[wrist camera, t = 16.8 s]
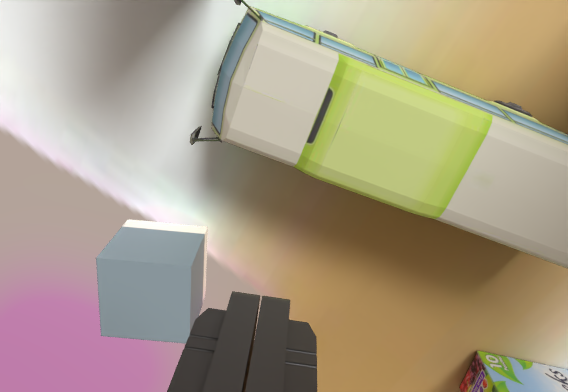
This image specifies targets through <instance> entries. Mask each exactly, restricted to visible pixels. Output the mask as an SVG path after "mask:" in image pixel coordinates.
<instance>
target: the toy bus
mask: <svg viewBox="0 0 568 392" xmlns="http://www.w3.org/2000/svg"><path fill="white" fill-rule="evenodd" d="M234 1H235V3H236V4H237V5H240V4H241V2H242V3H244V4H245V5H246V6H247V7H248V10H247V12H246V14H245V16H244V18H243V20H242V22H241V23H238V25H237V27H236V29H235V32H234V34H233V36H232V38H231V40H230V42H229V45H228V48H227V50H226V53H225V56H224V58H223V61H222V64H221V66H220V69H219V71H220V72H218V74H219V76H218V79H217V83H216V87H215V90H214V94H213V101H212V108H214V109H213V117H212V125H211V129H212V130H213V131H214V132H215V134H216V135H217V136H218V137H216V138H198V136H199V133H200V130H201V127H202V126H200V127H198V128H197V129H196V130H195V131H194V132H193V133H192V134H191V138H190V143H191V145H193V144H194V143H195V142H196V141H220V142H222V141H225V142H227V143H230V144H233V145H235V146H238V147H241V148H243V149H246V150H249V151H252V152H254V153H257V154H260V155H262V156H265V157H268V158H270V159H273V160H276V161H279V162H281V163H284V164H287V165H289V166H292V167H295V168H296V169H298V170H300V171H301V172H303V173H305V174H307V175H309V176H311V177H313V178H316V179H319V180H321V181H324V182H327V183H330V184H333V185H335V186H338V187H341V188H344V189H346V190H349V191H352V192H355V193H357V194H360V195H363V196H366V197H369V198H371V199H374V200H377V201H380V202H382V203H385V204H388V205H391V206H394V207H396V208H399V209H402V210H405V211H407V212H410V213H413V214H417V215H420V216H424V217H427V218H432V219H435V220H438V221H441V222H443V223H446V224H449V225H452V226H454V227H457V228H460V229H462V230H465V231H468V232H470V233H473V234H476V235H479V236H481V237H484V238H487V239H489V240H492V241H495V242H497V243H500V244H503V245H506V246H508V247H511V248H514V249H516V250H519V251H522V252H525V253H527V254H530V255H533V256H535V257H538V258H541V259H543V260H546V261H549V262H552V263H554V264H557V265H560V266H562V267H565V268H568V135H567V134H565V133H563V132H561V131H558V130H556V129H554V128H552V127H549V126H547V125H545V124H543V123H540V122H539V121H538V120H537V119H535V118H533V117H532V115H531V114H530V113H529V112H526V111H524V110H522V108H521V106H519V105H516V104H514V103H511V102H509V103H504V102H502V101H494V102H493V101H487V100H484V99H482V98H479V97H477V96H474V95H472V94H469V93H467V92H464V91H462V90H459V89H457V88H455V87H452V86H450V85H447V84H445V83H442V82H440V81H437V80H435V79H432V78H430V77H427V76H425V75H423V74H420V73H418V72H415V71H413V70H410V69H408V68H405V67H403V66H400V65H398V64H395V63H393V62H390V61H388V60H386V59H383V58H381V57H378V56H376V55H373V54H371V53H368V52H366V51H363V50H361V49H358V48H356V47H355V46H354V45H353V44H351V43H348V42H346V41H343V40H341V39H339V38H338V37H337V35H336V34H334V33H331V32H329V31H324V32H321V31H319V30H316V29H314V28H311V27H309V26H302V25H299V24H296V23H294V22H291V21H288V20H286V19H283V18H280V17H278V16H275V15H272V14H270V13H267V12H264V11H262V10H259V9H256V8H254V7H251V6H248V5H247V4H246V3H245V2H244V1H243V0H234ZM217 84H218V85H217ZM216 88H217V90H216ZM215 92H216V95H215ZM214 98H215V102H214ZM213 104H214V106H213ZM203 139H218V140H203Z"/></svg>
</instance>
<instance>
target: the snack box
mask: <svg viewBox="0 0 568 392" xmlns="http://www.w3.org/2000/svg"><path fill="white" fill-rule="evenodd" d="M459 388H460V390H461V392H568V369H563V368H558V367H553V366H549V365H544V364H539V363H535V362H529V361H525V360H520V359H515V358H511V357H506V356H501V355H496V354H491V353H487V352H482V351H477V353H476V356H475V358H474V360H473V362H472V364H471V366H470V368H469V370H468V372H467V374H466V376H465V378H464V380H463V382H462V384H461V385H460V387H459Z"/></svg>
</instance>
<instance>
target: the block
mask: <svg viewBox="0 0 568 392" xmlns="http://www.w3.org/2000/svg"><path fill="white" fill-rule="evenodd" d="M207 235H208V227H203V226H192V225H182V224H171V223H160V222H153V221H141V220H131V219H128V220H127V221H126V223H125V224H124V225H123V226H122V227H121V229H120V230H119V231H118V232H117V233H116V235H115V236H114V237H113V238H112V240H111V241H110V242H109V243H108V244H107V245H106V247H105V248H104V249H103V250H102V252H101V253H100V254H99V255H98V256H97V258H96V263H97V279H98V295H99V310H100V326H101V336H108V337H119V338H130V339H141V340H153V341H164V342H176V343H186V342H187V339H188V337H189V335H190V332H191V329H192V327H193V324H194V322H195V319H196V318H198V316H199V313H200V310H201V307H202V304H203V301H204V297H205V294H206V267H207Z"/></svg>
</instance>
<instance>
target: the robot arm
mask: <svg viewBox="0 0 568 392" xmlns="http://www.w3.org/2000/svg"><path fill="white" fill-rule="evenodd" d="M259 301H260V295H254V294H247V293H240V292H232V294H231V297H230V300H229V304H228V307H227V311H225V310H218V309H212V308H208V309H207V310H206V311H204V312H203V313H202V314H201V315H200V316H199V317H198V318H196V319H195V322H194V324H193V327H192V329H191V332H190V335H189V337H188V339H187V342H186V345H185V348H184V350H183V352H182V355H181V357H180V360H179V362H178V365H177V368H176V370H175V373H174V375H173V378H172V380H171V383H170V385H169V388H168V390H167V392H317V369H316V368H317V356H316V353H317V346H316V336H315V334H314V332H313V331H312V329H311V327H310V325H309V324H308V323H307V322H300V321H293V320H289V309H290V300H288V299H281V298H275V297H268V296H262V301H261V307H260V312H259V318H258V324H257V329H256V323H257V316H258V309H259ZM255 331H256V335H255ZM254 338H255V340H254ZM253 345H254V346H253Z"/></svg>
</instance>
